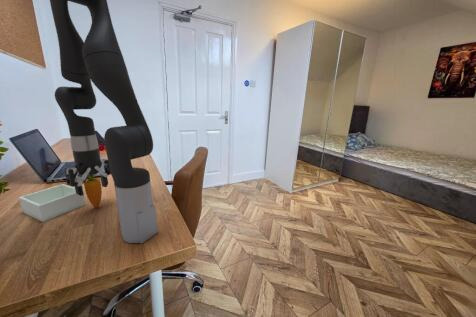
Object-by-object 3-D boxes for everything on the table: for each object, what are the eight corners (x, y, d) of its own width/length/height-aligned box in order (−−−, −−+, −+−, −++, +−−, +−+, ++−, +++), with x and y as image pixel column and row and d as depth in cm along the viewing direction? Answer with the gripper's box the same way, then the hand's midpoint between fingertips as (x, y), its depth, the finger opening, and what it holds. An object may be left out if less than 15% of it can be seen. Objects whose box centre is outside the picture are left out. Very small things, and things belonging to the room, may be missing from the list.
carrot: (97, 212, 76) (89, 173, 72) (85, 210, 77) (77, 172, 73) (107, 205, 81) (101, 168, 77) (96, 204, 82) (90, 167, 78)
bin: (85, 204, 81) (82, 190, 80) (43, 222, 70) (38, 206, 68) (65, 197, 87) (62, 183, 85) (23, 212, 75) (18, 197, 73)
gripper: (68, 153, 65) (78, 201, 69) (112, 145, 77) (118, 185, 82) (55, 150, 68) (65, 196, 72) (99, 142, 80) (105, 182, 85)
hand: (93, 190), depth 77 cm, fingers open, 8 cm apart
